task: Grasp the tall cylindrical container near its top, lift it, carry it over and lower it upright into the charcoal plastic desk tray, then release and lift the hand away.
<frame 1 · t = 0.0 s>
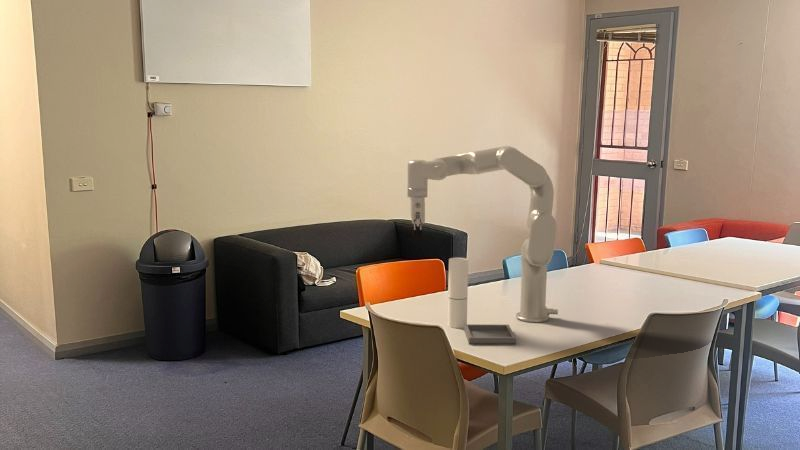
hand: (416, 237, 283), 31 cm above the table, fingers open, 9 cm apart
desk tray: (489, 337, 264), on the table
cylindrical container: (457, 325, 278), on the table
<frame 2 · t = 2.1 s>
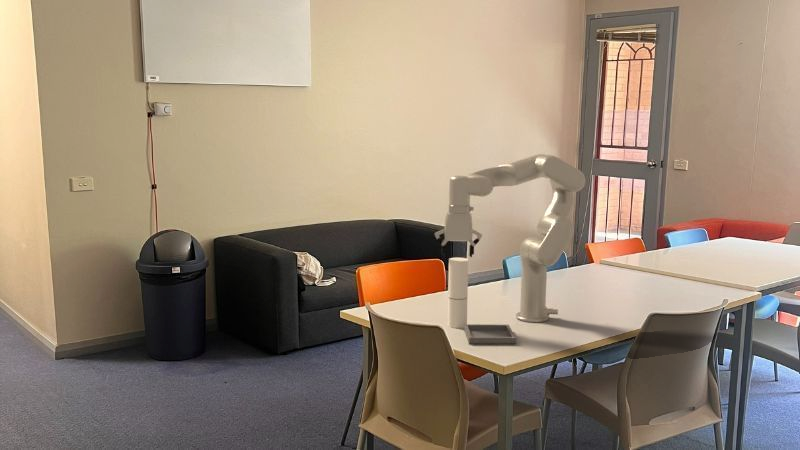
hand: (457, 256, 274), 26 cm above the table, fingers open, 9 cm apart
nothing on the table moved.
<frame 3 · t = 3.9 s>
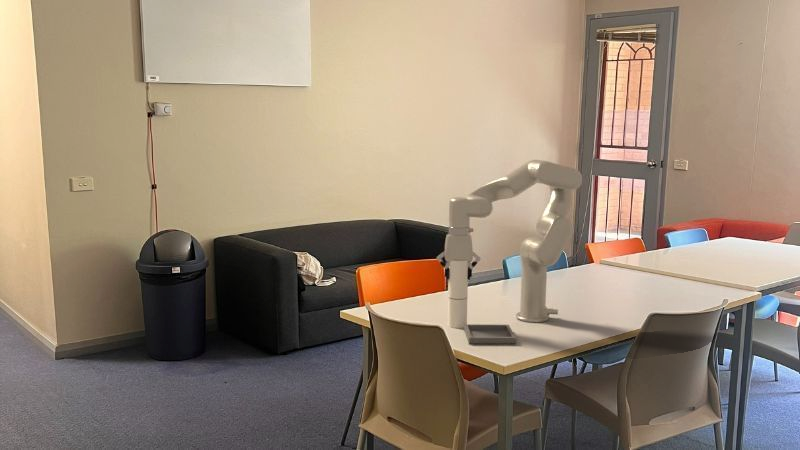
hand: (458, 278, 276), 18 cm above the table, fingers closed on cylindrical container, 7 cm apart
cylindrical container: (457, 325, 278), on the table, touching gripper
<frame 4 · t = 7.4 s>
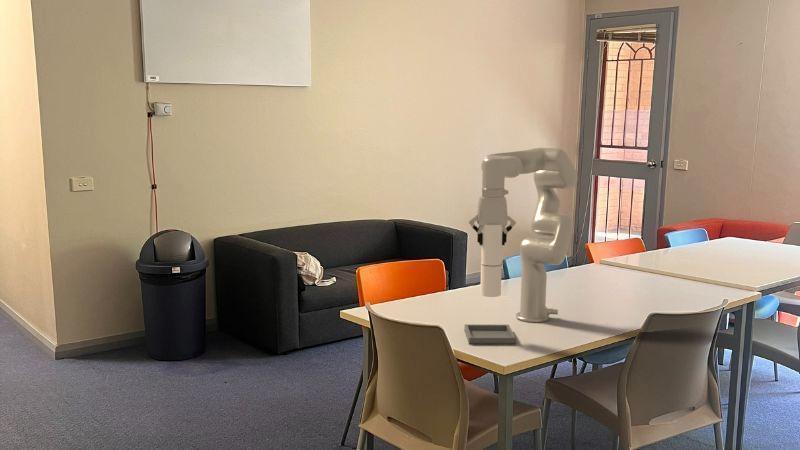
hand: (491, 244, 259), 33 cm above the table, fingers closed on cylindrical container, 7 cm apart
cylindrical container: (490, 294, 261), point 15 cm above the table, touching gripper
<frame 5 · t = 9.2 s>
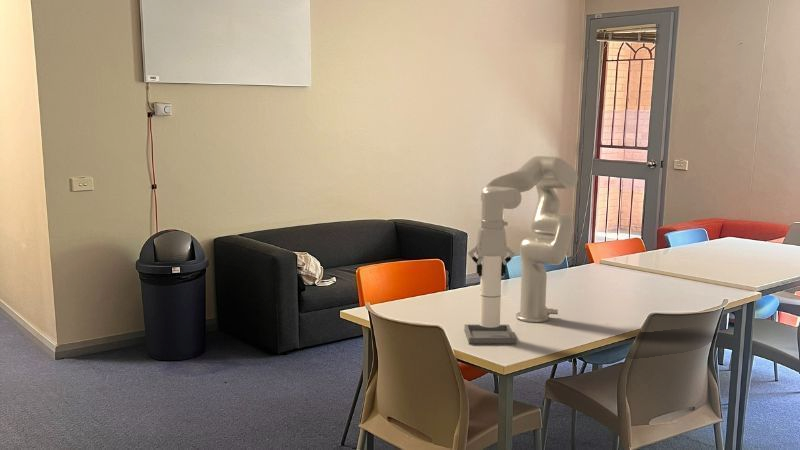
hand: (490, 275, 260), 23 cm above the table, fingers closed on cylindrical container, 7 cm apart
cylindrical container: (489, 325, 263), point 5 cm above the table, touching gripper
when the fingers open (20 cm above the table, at t = 10.8 s): cylindrical container drops 1 cm, resting on desk tray.
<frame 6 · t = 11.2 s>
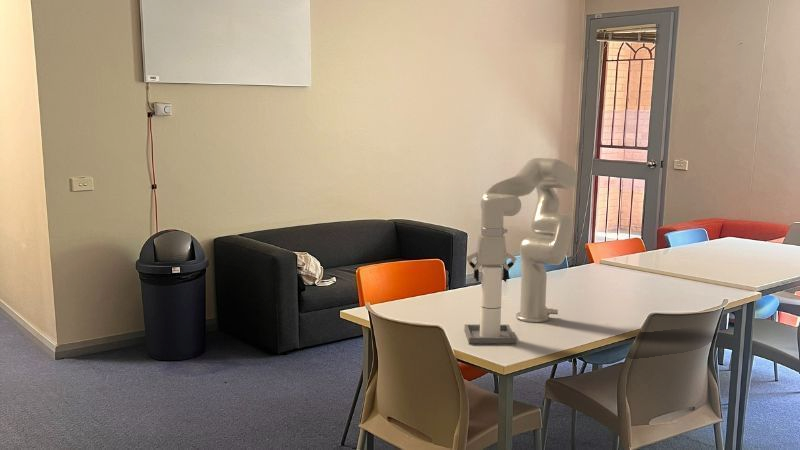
hand: (490, 280, 261), 21 cm above the table, fingers open, 9 cm apart
cylindrical container: (489, 336, 264), resting on desk tray
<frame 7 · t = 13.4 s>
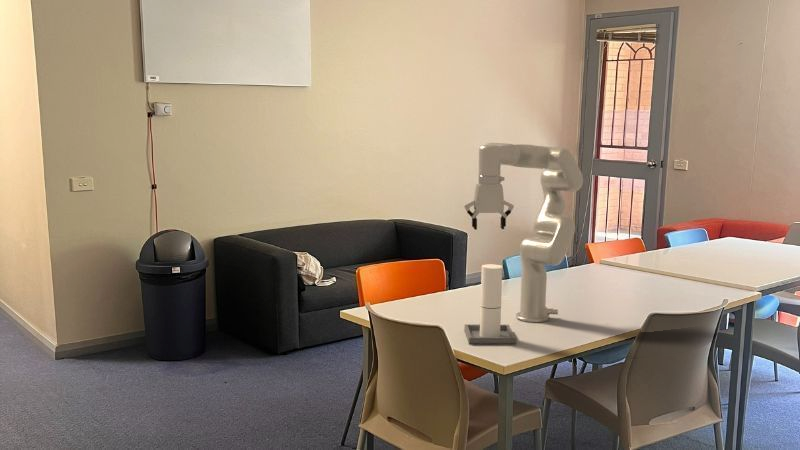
hand: (488, 228, 263), 38 cm above the table, fingers open, 9 cm apart
nothing on the table moved.
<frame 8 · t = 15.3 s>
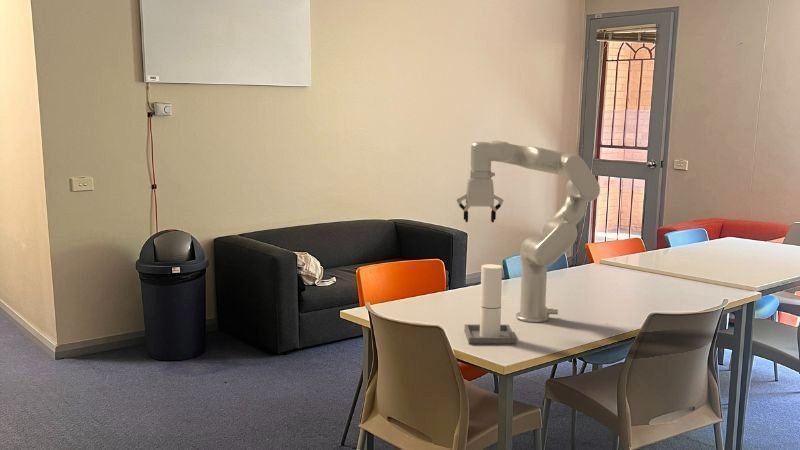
hand: (479, 221, 278), 38 cm above the table, fingers open, 9 cm apart
nothing on the table moved.
at the end: cylindrical container 0.2 cm off-centre on the desk tray, point 0.4 cm above the desk tray's base; cylindrical container tilted 0°; the gripper is holding nothing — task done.
